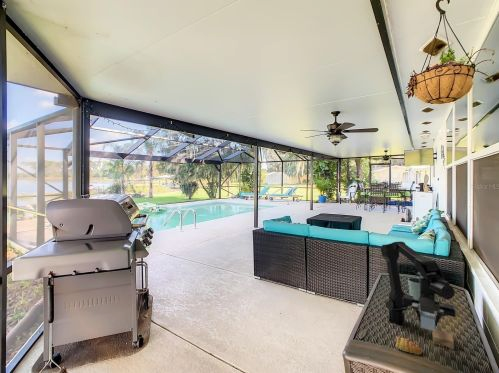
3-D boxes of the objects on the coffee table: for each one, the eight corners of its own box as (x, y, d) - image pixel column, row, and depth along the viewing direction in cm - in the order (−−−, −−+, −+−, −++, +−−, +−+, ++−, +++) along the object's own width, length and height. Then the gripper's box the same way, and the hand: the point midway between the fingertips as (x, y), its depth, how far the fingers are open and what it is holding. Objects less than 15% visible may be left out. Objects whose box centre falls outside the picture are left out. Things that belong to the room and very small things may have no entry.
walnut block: (433, 344, 110) (433, 336, 110) (432, 336, 116) (432, 328, 115) (453, 350, 106) (453, 342, 106) (451, 341, 112) (451, 333, 112)
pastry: (421, 349, 107) (421, 340, 106) (421, 358, 101) (421, 349, 101) (396, 341, 112) (396, 333, 112) (395, 350, 106) (395, 341, 106)
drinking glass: (432, 303, 145) (431, 283, 145) (414, 303, 146) (414, 283, 146) (420, 295, 156) (420, 277, 156) (404, 296, 156) (404, 277, 156)
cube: (420, 327, 107) (420, 315, 107) (421, 322, 111) (421, 311, 111) (435, 331, 104) (434, 319, 104) (435, 325, 108) (435, 314, 108)
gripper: (400, 289, 107) (400, 325, 107) (456, 301, 95) (456, 341, 96) (403, 281, 116) (404, 314, 116) (454, 291, 104) (455, 328, 104)
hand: (428, 324), depth 108 cm, fingers closed on cube, 5 cm apart
